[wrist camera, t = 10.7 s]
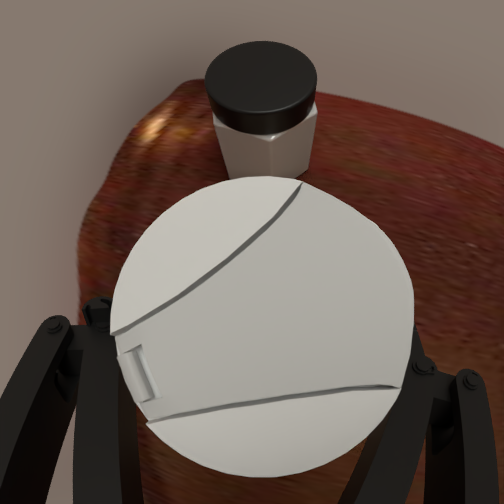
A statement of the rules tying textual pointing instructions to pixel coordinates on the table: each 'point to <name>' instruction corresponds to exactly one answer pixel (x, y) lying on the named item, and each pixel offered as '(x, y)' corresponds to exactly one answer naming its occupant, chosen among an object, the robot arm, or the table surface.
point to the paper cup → (263, 326)
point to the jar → (263, 109)
